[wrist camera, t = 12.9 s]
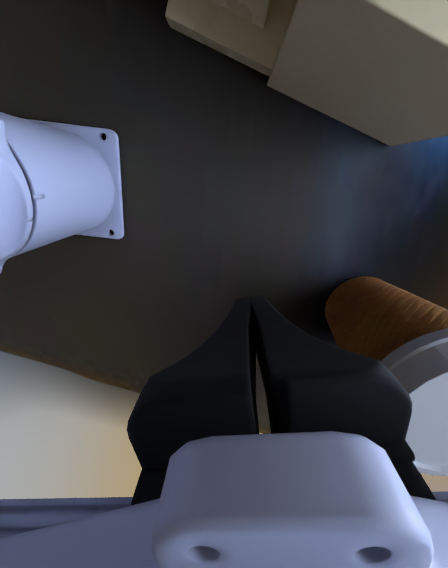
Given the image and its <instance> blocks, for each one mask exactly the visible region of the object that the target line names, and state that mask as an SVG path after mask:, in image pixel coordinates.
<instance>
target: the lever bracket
mask: <svg viewBox="0 0 448 568" xmlns="http://www.w3.org/2000/svg"><path fill="white" fill-rule="evenodd" d="M297 1H298V0H168V4H167V9H166V14H165V17H166V19H167V22H168V24H169V26H170V28H172V29H174V30H176V31H178V32H180V33H182V34H184V35H186V36H188V37H190V38H192V39H194V40H196V41H198V42H200V43H202V44H204V45H206V46H208V47H210V48H212V49H215V50H217V51H219V52H221V53H223V54H225V55H227V56H229V57H231V58H233V59H235V60H237V61H239V62H241V63H243V64H245V65H247V66H249V67H251V68H253V69H255V70H257V71H259V72H261V73H263V74H265V75H267V76H270V75H271V72H272V69H273V66H274V64H275V61H276V58H277V56H278V53H279V50H280V47H281V45H282V42H283V39H284V37H285V34H286V31H287V28H288V26H289V23H290V20H291V18H292V15H293V12H294V9H295V7H296V4H297Z"/></svg>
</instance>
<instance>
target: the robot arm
mask: <svg viewBox="0 0 448 568" xmlns="http://www.w3.org/2000/svg"><path fill="white" fill-rule="evenodd" d="M103 133H105V134H106V140H103V139H102V134H103ZM110 230H112V231H113V232H114V235H112V234H111V233H110ZM74 234H77V235H86V236H94V237H103V238H111V239H121V238H122V237H123V236H124V221H123V204H122V187H121V171H120V154H119V138H118V135H117V133H116V132H114V131H113V130H110V129H103V128H95V127H87V126H79V125H71V124H63V123H55V122H47V121H39V120H31V119H23V118H19V117H15V116H12V115H8V114H5V113H1V112H0V274H1V273H2V267H3V264H4V263H5V261H6V260H7V259H8V258H11V257H13V256H16V255H19V254H22V253H24V252H27V251H30V250H33V249H36V248H38V247H41V246H44V245H47V244H49V243H52V242H55V241H58V240H61V239H63V238H66V237H69V236H72V235H74ZM256 353H257V358H258V362H259V367H260V371H261V375H262V380H263V384H264V388H265V393H266V399H267V406H268V414H269V421H270V429H271V434H259V426H258V416H257V405H256ZM411 415H412V401H411V398H410V396H409V393H408V392H407V391H406V390H405V388H404V387H403V386H402V385H401V383H400V382H399V381H398V380H397V378H396V377H395V376H394V375H393V374H392V372H391V371H390V370H389V369H388V368H387V367H386V366H385V365H384V364H383V363H382V362H381V361H380V360H377V359H374V358H370V357H367V356H363V355H360V354H356V353H353V352H350V351H347V350H344V349H341V348H339V347H336V346H333V345H331V344H329V343H326V342H324V341H322V340H320V339H318V338H316V337H314V336H312V335H310V334H308V333H306V332H304V331H303V330H301V329H300V328H298V327H296V326H295V325H293V324H292V323H291V322H289V321H288V320H287V319H286V318H285V317H283V316H282V315H281V314H280V313H279V312H278V311H277V310H276V309H275V308H274V307H273V306H272V305H271V304H270V303H269V302H268V301H267V299H266V298H265V297H263V296H260V297H250V298H239V299H237V300H236V301H235V304H234V306H233V308H232V309H231V311H230V313H229V314H228V316H227V317H226V319H225V320H224V322H223V323H222V324H221V325H220V327H219V328H218V329H217V330H216V332H215V333H214V334H213V335H212V336H211V337H210V338H209V339H208V340H207V341H206V342H204V343H203V344H202V345H201V346H200V347H198V348H197V349H196V350H195V351H193V352H192V353H190V354H189V355H188V356H186V357H185V358H183V359H181V360H180V361H178V362H177V363H175V364H173V365H171V366H169V367H167V368H166V369H164V370H162V371H160V372H158V373H156V374H154V375H152V376H150V377H149V379H148V381H147V382H146V384H145V386H144V388H143V389H142V392H141V394H140V396H139V398H138V400H137V402H136V405H135V407H134V409H133V411H132V414H131V416H130V418H129V420H128V426H127V432H128V436H129V439H130V442H131V444H132V446H133V448H134V451H135V453H136V455H137V458H138V460H139V462H140V464H141V467H142V471H141V474H140V477H139V480H138V483H137V486H136V489H135V493H134V496H133V497H114V498H113V497H111V498H56V499H2V500H1V499H0V568H448V492H431V490H430V488H429V487H428V485H427V484H426V482H425V481H424V479H423V478H422V476H421V474H420V472H419V471H418V469H417V468H416V466H415V464H414V463H413V461H415V455H414V452H413V451H412V449H411V448H410V446H409V445H408V443H407V442H406V440H405V439H406V435H407V431H408V427H409V423H410V419H411Z"/></svg>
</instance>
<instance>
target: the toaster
mask: <svg viewBox="0 0 448 568" xmlns="http://www.w3.org/2000/svg"><path fill="white" fill-rule="evenodd" d="M267 86H268V87H271V88H273V89H275V90H277V91H279V92H281V93H283V94H285V95H287V96H289V97H291V98H293V99H295V100H297V101H299V102H301V103H303V104H305V105H307V106H309V107H311V108H313V109H315V110H317V111H319V112H322V113H324V114H326V115H328V116H330V117H332V118H334V119H336V120H338V121H340V122H342V123H344V124H346V125H348V126H350V127H352V128H354V129H356V130H358V131H360V132H362V133H364V134H366V135H368V136H370V137H372V138H375V139H377V140H379V141H381V142H383V143H385V144H387V145H389V146H396V145H401V144H406V143H411V142H416V141H421V140H426V139H432V138H437V137H442V136H447V135H448V0H298V1H297V4H296V7H295V9H294V12H293V15H292V18H291V20H290V23H289V26H288V28H287V31H286V34H285V37H284V39H283V42H282V45H281V47H280V50H279V53H278V56H277V58H276V61H275V64H274V66H273V69H272V72H271V75H270V77H269V80H268V83H267Z"/></svg>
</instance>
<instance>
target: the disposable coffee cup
mask: <svg viewBox="0 0 448 568" xmlns="http://www.w3.org/2000/svg"><path fill="white" fill-rule="evenodd" d="M325 317H326V320H327V322H328V324H329V327H330V329H331V332H332V334H333V336H334V339H335V341H336V344H337V346H338V347H339V348H341V349H344V350H347V351H350V352H353V353H356V354H360V355H363V356H367V357H370V358H374V359H377V360H380V361H381V362H382V363H383V364H384V365H385V366H386V367H387V368H388V369H389V370H390V371H391V372H392V374H393V375H394V376H395V377H396V378H397V380H398V381H399V382H400V383H401V385H402V386H403V387H404V388H405V390H406V391H407V392H408V393H409V396H410V398H411V401H412V415H411V419H410V423H409V427H408V431H407V435H406V439H405V440H406V442H407V443H408V445H409V446H410V448H411V449H412V451H413V452H414V455H415V461H413V463H414V464H415V466H416V468H417V469H418V471H419V472H420V473H424V474H429V475H439V476H448V310H446V309H445V308H443V307H440V306H437V305H436V304H433V303H431V302H429V301H427V300H424V299H423V298H420V297H418V296H415V295H414V294H411V293H409V292H407V291H404V290H402V289H400V288H398V287H396V286H393V285H391V284H389V283H387V282H384V281H382V280H380V279H378V278H375V277H358V278H353V279H351V280H348V281H346V282H344V283H342V284H341V285H340V286H338V287H337V288H336V289H335V290H334V291H333V292H332V293H331V295H330V296H329V298H328V300H327V302H326V306H325Z"/></svg>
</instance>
